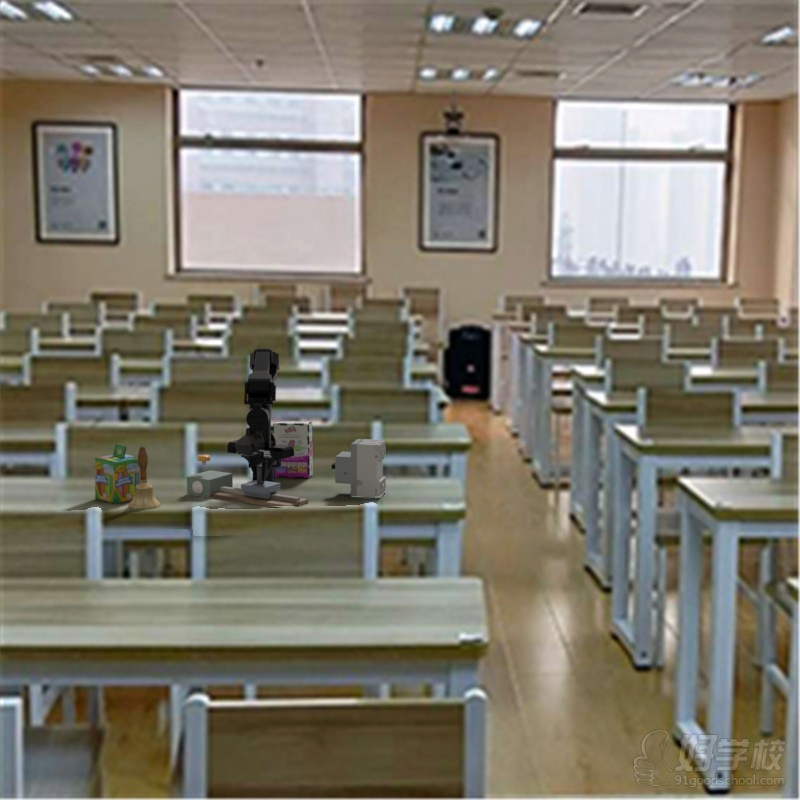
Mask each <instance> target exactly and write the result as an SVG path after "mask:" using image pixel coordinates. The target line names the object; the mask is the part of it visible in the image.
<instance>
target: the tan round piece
mask: <svg viewBox="0 0 800 800" xmlns="http://www.w3.org/2000/svg"><path fill="white" fill-rule="evenodd" d="M196 458H197V461H198V462H201V465H203V466H204V465H207V462H210V461H211V455H210V454H199V455H197V456H196Z"/></svg>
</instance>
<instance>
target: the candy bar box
mask: <svg viewBox="0 0 800 800" xmlns="http://www.w3.org/2000/svg"><path fill="white" fill-rule="evenodd" d="M272 427H273V429H274V430H273V431H272V434H273V436H274V438H275V440H276V446H278V445H290V446H292V447H293V448H294V456H292V457H288V458H285V459H281V466H280V467H278V468H276V467H275V478H290V479H291V478H292V479H293V478H295V479H310V478H311V477H313V475H314V467H313V465H314V464H313V461H314V460H313V457H314V456H313V454H314V453H313V421H302V420H301V421H300V420H299V421H298V420H275V421H274V422H273V423H272ZM275 462H276V461H275Z"/></svg>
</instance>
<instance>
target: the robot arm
mask: <svg viewBox="0 0 800 800" xmlns="http://www.w3.org/2000/svg"><path fill="white" fill-rule="evenodd" d="M280 366H281V358H280V354H279V353H278V352H275V351H273V349H272V348H270V347H265V348H263V347H262V348H261V347H260V348H259V347H258V348H257V347H256V348H255V349H254V351H253V352H251V353H249V369H250V370H251V371H252V372H251V373H249V374H248V376H247V381H244V399H243V405H249V407H248V412H247V415H246V419H245V420H246V421H245V422H246V424H247V426H248V427H246V428H245V429H246V430H245V435H243V436H241V437H240V438H239V439H236V440H232V441H228V442H227V445H226V453H229V454H237V455H240V457H241V458H244V460H246V461H247V462H248V468H250V469H251V472H252V481H254V480H257V465H262V481H269V482H276V477H275V467H276V468H278V467H280V466H281V459H285V458H288V457H292V456H294V448H293V447H292V446H290V445H278V446H276V440H275V438H274V436H273V430H274V429H273V425H272V405H274V402H276V401H277V399H276V397H277V385H276V384H275V381H276V380H277V379H278V371H280V369H281V367H280ZM275 461H276V462H275Z"/></svg>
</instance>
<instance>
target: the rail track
mask: <svg viewBox="0 0 800 800" xmlns="http://www.w3.org/2000/svg"><path fill="white" fill-rule="evenodd" d="M211 498H212V499H218V500H225V501H232V502H237V503H242V504H243V503H245V504H251V505H255V506H257V505H258V506H262V507H263V506H264V507H269V506H297V507H300V506H303V505H305V504H308V503H309V498H302V497H300V496H299V497H298V496H293V495H285V494H279V493H277V494H273V493H270V499H265V498H258V497H252V496H245V495H244V491H241V487H239V488H238V487H226V486H221V487H219V492H216V493H212V494H211ZM299 505H300V506H299Z"/></svg>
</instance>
